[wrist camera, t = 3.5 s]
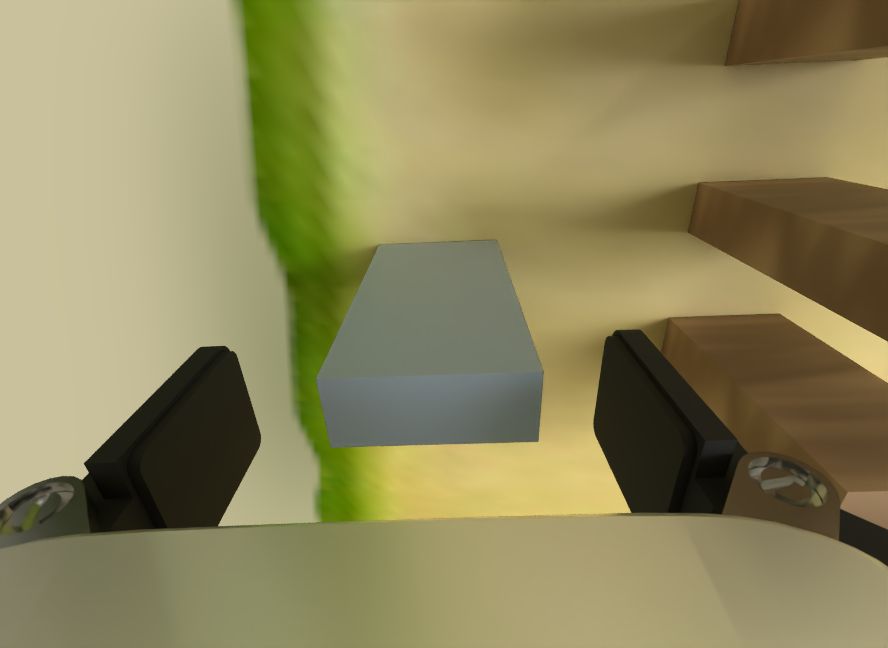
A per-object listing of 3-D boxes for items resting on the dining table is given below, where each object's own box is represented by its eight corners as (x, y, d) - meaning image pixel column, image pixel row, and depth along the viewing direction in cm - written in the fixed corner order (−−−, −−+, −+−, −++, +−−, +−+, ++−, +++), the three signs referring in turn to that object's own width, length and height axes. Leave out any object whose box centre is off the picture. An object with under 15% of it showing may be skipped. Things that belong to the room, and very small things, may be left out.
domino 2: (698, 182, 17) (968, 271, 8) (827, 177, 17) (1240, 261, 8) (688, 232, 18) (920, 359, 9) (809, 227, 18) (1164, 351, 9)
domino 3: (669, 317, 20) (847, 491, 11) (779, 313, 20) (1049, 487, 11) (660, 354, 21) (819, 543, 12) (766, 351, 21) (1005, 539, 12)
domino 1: (379, 244, 18) (316, 378, 10) (496, 239, 18) (543, 371, 9) (384, 288, 19) (330, 447, 10) (496, 283, 19) (538, 441, 10)
